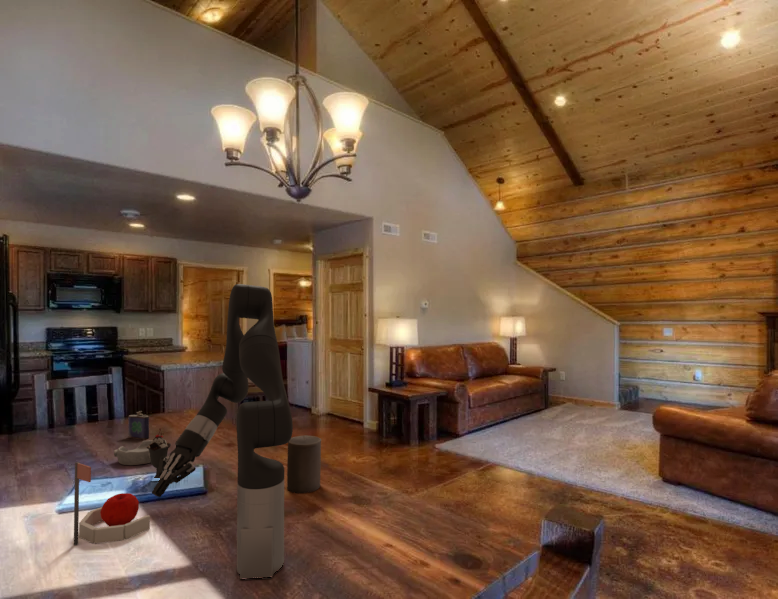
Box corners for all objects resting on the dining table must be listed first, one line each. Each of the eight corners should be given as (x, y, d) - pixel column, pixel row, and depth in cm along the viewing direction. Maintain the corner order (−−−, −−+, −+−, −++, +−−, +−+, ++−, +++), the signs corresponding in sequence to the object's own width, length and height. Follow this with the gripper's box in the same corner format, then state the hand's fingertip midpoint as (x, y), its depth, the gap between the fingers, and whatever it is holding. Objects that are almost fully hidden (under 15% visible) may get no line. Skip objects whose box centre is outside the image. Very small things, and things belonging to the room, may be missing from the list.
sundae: (164, 473, 141) (164, 425, 141) (174, 478, 137) (174, 429, 137) (142, 479, 136) (142, 430, 136) (151, 485, 132) (152, 434, 132)
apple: (102, 537, 101) (102, 504, 102) (97, 524, 108) (98, 493, 108) (141, 526, 107) (142, 495, 107) (135, 514, 113) (135, 485, 113)
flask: (126, 438, 179) (127, 411, 179) (132, 436, 182) (132, 409, 182) (145, 439, 177) (146, 412, 177) (151, 437, 180) (151, 411, 180)
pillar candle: (287, 495, 125) (288, 441, 125) (286, 481, 134) (287, 431, 134) (322, 491, 127) (323, 439, 127) (318, 479, 137) (319, 429, 137)
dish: (107, 465, 149) (108, 450, 149) (140, 452, 162) (140, 438, 162) (144, 468, 145) (144, 453, 145) (174, 455, 159) (174, 441, 159)
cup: (114, 514, 113) (114, 442, 113) (149, 528, 106) (150, 452, 106) (56, 536, 102) (58, 457, 102) (92, 554, 94) (93, 469, 95)
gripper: (173, 425, 127) (130, 483, 116) (204, 431, 120) (162, 494, 109) (189, 439, 131) (149, 496, 120) (220, 446, 125) (181, 507, 114)
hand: (155, 495), depth 115 cm, fingers closed
